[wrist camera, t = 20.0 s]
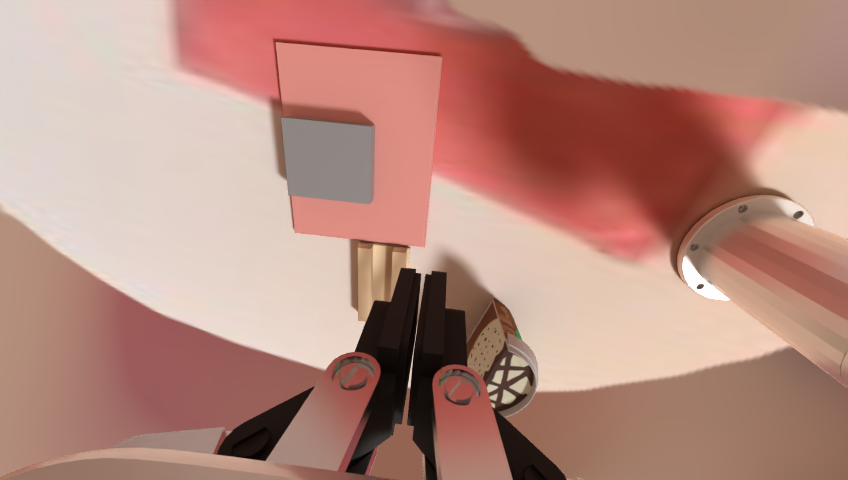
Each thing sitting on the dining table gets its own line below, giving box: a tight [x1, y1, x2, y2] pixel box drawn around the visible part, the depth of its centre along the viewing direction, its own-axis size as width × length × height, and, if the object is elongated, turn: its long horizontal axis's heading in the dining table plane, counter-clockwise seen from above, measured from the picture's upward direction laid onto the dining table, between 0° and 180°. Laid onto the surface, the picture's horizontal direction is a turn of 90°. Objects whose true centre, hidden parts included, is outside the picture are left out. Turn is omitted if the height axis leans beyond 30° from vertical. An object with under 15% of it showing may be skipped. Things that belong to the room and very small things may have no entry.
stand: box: [358, 242, 410, 321], centre depth 41 cm, size 6×11×2 cm, turn 175°
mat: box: [276, 42, 443, 247], centre depth 34 cm, size 16×20×1 cm
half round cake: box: [466, 299, 538, 418], centre depth 39 cm, size 12×6×10 cm, turn 158°
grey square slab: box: [281, 116, 375, 204], centre depth 34 cm, size 2×9×8 cm
